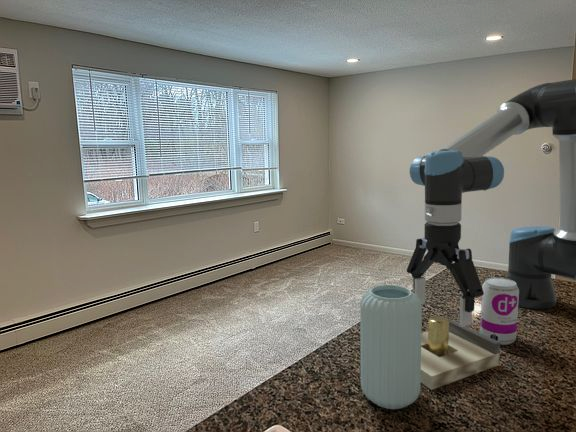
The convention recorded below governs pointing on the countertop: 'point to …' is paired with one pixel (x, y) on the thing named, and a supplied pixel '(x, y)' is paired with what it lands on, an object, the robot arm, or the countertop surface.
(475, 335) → the jig
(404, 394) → the vase
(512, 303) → the supplement can
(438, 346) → the brass cylinder
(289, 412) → the countertop surface
